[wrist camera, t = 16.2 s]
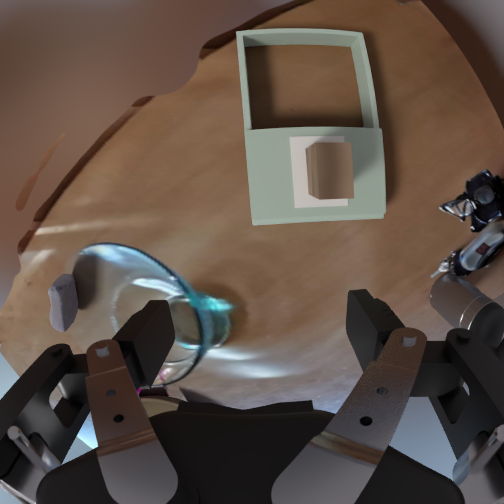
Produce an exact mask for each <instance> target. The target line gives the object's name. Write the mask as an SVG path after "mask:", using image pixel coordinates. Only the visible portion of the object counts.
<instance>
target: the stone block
mask: <svg viewBox="0 0 504 504" xmlns="http://www.w3.org/2000/svg"><path fill="white" fill-rule="evenodd" d="M48 295H49V297H50V302H51V310H50V321H51V324H52V326H53V327H54V328H55V329H56V330H58V331H62V332H65V331H66V330H67V329H68V328H69V327H70V325H71V324H72V323H73V322H74V320H75V317H76V314H77V311H78V299H77V292H76V288H75V281H74V277H73V276H72V275H71V274H63V275H61V276H60V277H59V278H57V280H56V281H55V282H54V283H53V285H52V286H51V287H50V289H49V291H48Z"/></svg>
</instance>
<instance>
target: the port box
mask: <svg viewBox="0 0 504 504" xmlns="http://www.w3.org/2000/svg"><path fill="white" fill-rule="evenodd" d="M236 35H237V46H238V57H239V69H240V80H241V92H242V104H243V115H244V127H245V131H244V132H245V144H246V156H247V168H248V180H249V192H250V204H251V216H252V223H253V225H266V224H282V223H298V222H316V221H335V220H357V219H383V218H384V213H386V186H385V164H384V149H383V138H382V129H379V122H378V114H377V106H376V99H375V92H374V86H373V80H372V75H371V69H370V64H369V59H368V55H367V50H366V46H365V41H364V37H363V33H360V32H352V31H342V30H329V29H308V28H282V29H260V30H247V31H237V32H236ZM290 44H307V45H332V46H346V47H351V50H352V55H353V60H354V65H355V71H356V76H357V82H358V89H359V95H360V102H361V110H362V118H363V127H364V128H360V127H291V128H271V129H257V130H252V119H251V108H250V97H249V86H248V75H247V64H246V54H245V47H250V46H264V45H290ZM318 142H350V143H351V149H352V163H353V181H354V199H325V200H319V199H317V198H315V197H313V196H311V195H309V194H308V179H307V164H306V151H305V149H306V148H308V147H309V146H311V145H312V144H314V143H318Z"/></svg>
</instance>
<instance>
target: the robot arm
mask: <svg viewBox="0 0 504 504" xmlns="http://www.w3.org/2000/svg"><path fill="white" fill-rule="evenodd" d="M430 303H431V306H432V307H433V308H434V309H435V310H436V311H437V312H438V313H439V314H440V315H441V316H442V317H443V318H444V319H445V320H446V321H447V322H448V323H449V324H450V325H451V326H453V327H454V328H455V329H452V330H450V331H449V332H448V333H447V336H446V340H445V341H427V337H426V335H425V334H424V333H423V332H421V331H420V330H418V329H415V328H409V327H405V326H404V324H403V323H402V322H401V321H400V319H399V318H398V317H397V316H396V315H395V313H394V312H393V311H392V310H391V308H390V307H389V306H388V305H387V304H386V303H385V302H383V301H381V300H380V299H378V298H376V299H374V298H373V297H372V296H371V295H370V293H369V292H368V291H367V290H366V289H359V290H350V291H349V292H348V301H347V316H346V331H347V335H348V338H349V340H350V342H351V345H352V347H353V349H354V351H355V354H356V356H357V358H358V361H359V363H360V365H361V368H362V370H363V372H364V373H363V374H362V376H361V378H360V379H359V381H358V382H357V384H356V385H355V387H354V388H353V390H352V392H351V393H350V395H349V396H348V397H347V399H346V400H345V402H344V403H343V405H342V406H341V408H340V409H339V410H338V412H337V413H336V414H334V413H331V412H327V411H322V410H315V409H313V404H312V400H308V401H297V402H282V403H275V404H271V405H266V406H262V407H257V408H252V409H246V410H241V409H235V408H231V407H226V406H221V405H217V404H212V403H199V402H185V401H180V402H179V405H178V408H177V410H172V411H167V412H163V413H159V414H157V415H154V416H152V417H150V418H149V417H148V414H147V412H146V410H145V408H144V406H143V403H142V401H141V399H140V397H139V394H138V392H137V391H138V389H139V388H144V389H150V388H151V386H152V384H153V382H154V380H155V378H156V377H157V375H158V373H159V371H160V369H161V367H162V365H163V363H164V361H165V359H166V357H167V355H168V353H169V351H170V349H171V347H172V345H173V343H174V340H175V330H174V326H173V321H172V317H171V313H170V308H169V304H168V302H167V301H166V300H150V301H149V302H148V303H147V304H146V305H145V307H144V308H143V309H142V310H140V311H138V312H137V313H135V314H134V315H132V316H131V317H130V318H129V320H128V321H127V322H126V323H125V324H124V325H123V327H122V328H121V329H120V330H119V331H118V332H117V333H116V335H115V336H114V337H113V338H112V339H106V340H100V341H98V342H95V343H93V344H92V345H91V346H89V348H88V349H87V351H86V354H75V355H73V353H72V351H71V348H70V346H69V345H67V344H56V345H53V346H51V347H49V348H48V349H46V350H45V351H44V352H43V353H42V354H41V355H40V356H39V357H38V359H37V360H36V361H35V362H34V363H33V364H32V365H31V366H30V367H29V368H28V369H27V370H26V371H25V372H24V374H23V375H22V376H21V377H20V378H19V379H18V380H17V381H16V383H15V384H14V385H13V386H12V387H11V388H10V389H9V391H8V392H7V393H6V394H5V395H4V396H3V398H2V399H1V400H0V486H1V487H2V488H3V489H4V490H5V491H6V492H8V493H9V494H10V495H12V496H14V497H15V498H16V499H17V500H18V501H20V502H21V503H22V504H504V338H503V340H502V336H503V333H504V309H503V308H502V307H501V306H500V305H499V304H497V303H496V302H494V301H493V300H492V299H490V298H489V297H487V296H486V295H485V294H483V293H482V292H481V291H480V290H479V289H478V288H476V287H475V286H473V285H472V284H470V283H469V282H467V281H466V280H464V279H463V278H461V277H458V276H457V275H455V274H453V273H446V274H443V275H442V276H440V277H439V278H438V279H437V280H436V282H435V283H434V285H433V287H432V289H431V292H430ZM501 340H502V341H501ZM464 381H465V383H466V384H467V386H468V388H469V394H470V395H468V394H467V392H466V391H465V389H464V387H463V383H464ZM56 386H57V387H58V388H59V390H60V392H61V394H62V395H63V397H62V398H61V400H60V401H59V402H58V404H57V405H56V407H55V408H54V410H53V409H52V408H51V406H50V403H49V397H50V394H51V393H52V391H53V390H54V389H55V387H56ZM409 397H429V399H430V401H431V403H432V406H433V408H434V410H435V412H436V414H437V416H438V418H439V420H440V422H441V424H442V427H443V429H444V431H445V433H446V435H447V438H448V440H449V442H450V445H451V447H452V449H453V452H454V454H455V457H456V459H457V462H456V463H455V465H454V468H453V481H452V480H451V479H449V478H447V477H445V476H444V475H442V474H440V473H438V472H436V471H434V470H432V469H430V468H428V467H426V466H424V465H422V464H421V463H419V462H417V461H415V460H413V459H412V458H410V457H408V456H406V455H405V454H403V453H401V452H399V451H398V450H396V449H394V448H393V447H391V446H389V444H390V441H391V439H392V437H393V435H394V433H395V431H396V429H397V426H398V424H399V422H400V419H401V417H402V415H403V412H404V410H405V407H406V404H407V402H408V399H409ZM90 411H91V416H92V421H93V426H94V430H95V434H96V438H97V442H98V447H97V448H95V449H93V450H91V451H89V452H87V453H85V454H83V455H81V456H79V457H77V458H75V459H73V460H71V461H69V462H67V463H65V464H63V465H61V464H62V463H63V461H64V459H65V457H66V455H67V453H68V451H69V449H70V447H71V445H72V443H73V441H74V440H75V438H76V436H77V434H78V432H79V430H80V429H81V427H82V425H83V423H84V421H85V420H86V418H87V416H88V414H89V413H90Z"/></svg>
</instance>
